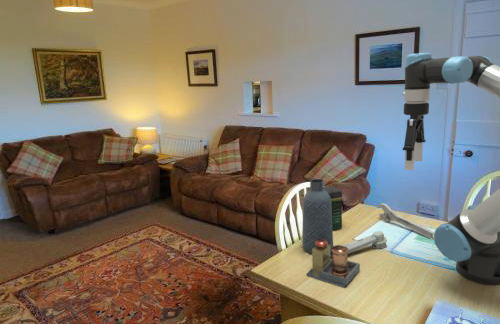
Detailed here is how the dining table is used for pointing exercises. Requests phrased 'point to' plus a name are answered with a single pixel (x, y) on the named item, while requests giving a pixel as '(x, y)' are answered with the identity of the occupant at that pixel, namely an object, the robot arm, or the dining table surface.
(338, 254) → the cylinder
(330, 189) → the coffee jar
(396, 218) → the wrench
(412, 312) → the dining table surface
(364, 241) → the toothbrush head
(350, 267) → the fitting base
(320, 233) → the vase
